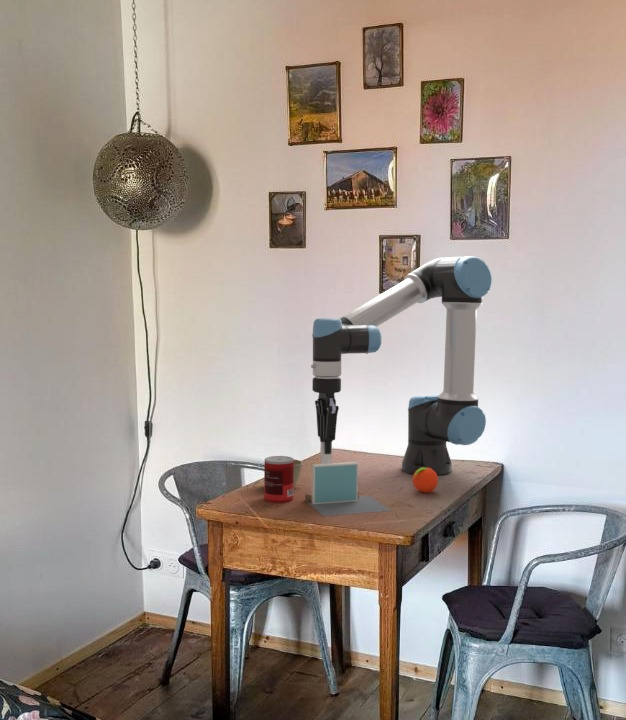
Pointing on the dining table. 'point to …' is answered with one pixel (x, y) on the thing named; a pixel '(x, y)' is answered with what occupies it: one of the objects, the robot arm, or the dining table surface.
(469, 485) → the dining table surface
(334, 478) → the tile
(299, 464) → the flower pot
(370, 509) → the mat
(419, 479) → the clementine
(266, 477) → the canned food
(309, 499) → the strip
